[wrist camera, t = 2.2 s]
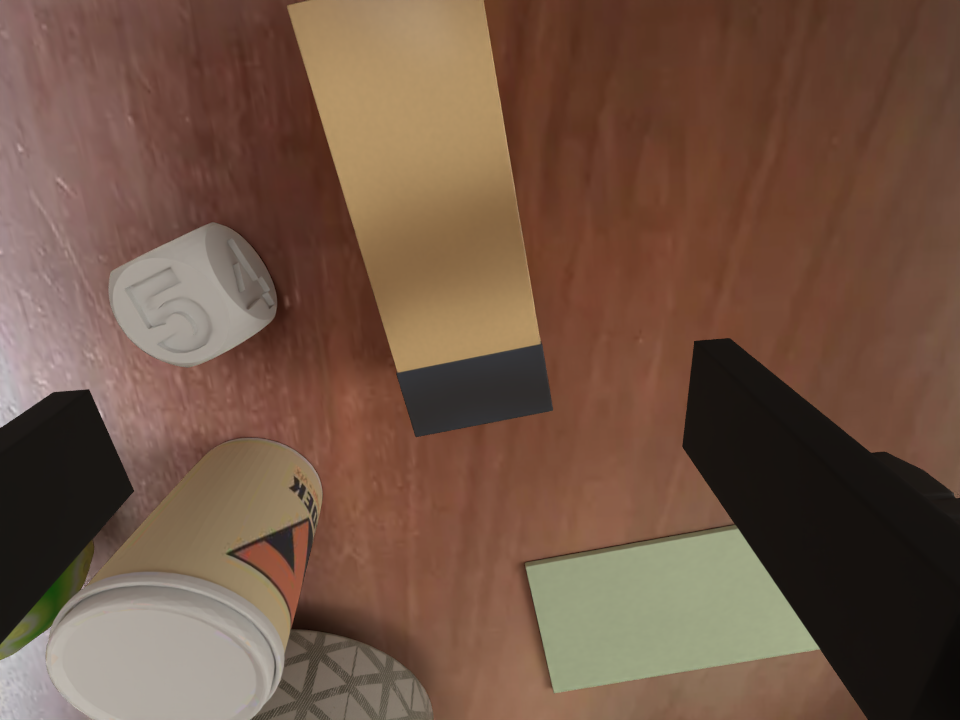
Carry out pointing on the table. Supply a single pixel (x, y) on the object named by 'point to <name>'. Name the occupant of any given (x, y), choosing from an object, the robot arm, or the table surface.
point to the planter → (343, 683)
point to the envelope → (659, 609)
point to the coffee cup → (195, 595)
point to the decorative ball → (49, 604)
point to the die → (193, 296)
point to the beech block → (430, 200)
